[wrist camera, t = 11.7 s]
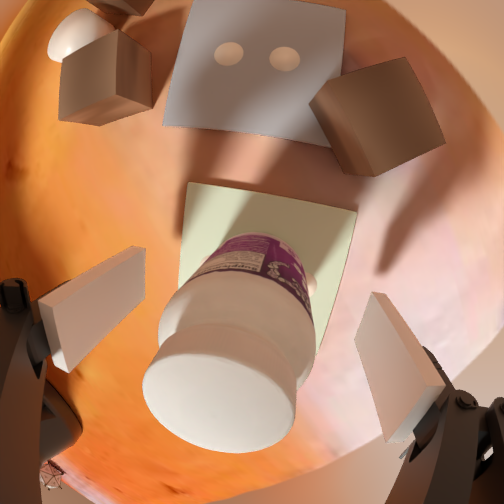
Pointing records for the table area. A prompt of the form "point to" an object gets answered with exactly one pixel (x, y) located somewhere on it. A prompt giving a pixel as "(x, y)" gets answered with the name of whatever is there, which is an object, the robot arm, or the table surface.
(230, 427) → the pill bottle
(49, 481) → the game die
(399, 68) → the cube
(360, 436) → the table surface
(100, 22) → the white cap
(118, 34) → the cube
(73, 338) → the robot arm
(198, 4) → the pad two
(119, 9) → the cube
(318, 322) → the pad three
